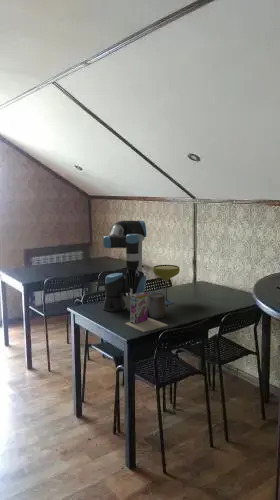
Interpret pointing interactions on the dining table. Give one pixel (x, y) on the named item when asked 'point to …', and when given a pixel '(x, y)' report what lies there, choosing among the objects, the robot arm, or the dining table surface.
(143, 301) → the candy bar box
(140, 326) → the mat
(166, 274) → the cocktail glass
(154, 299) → the pillar candle
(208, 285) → the dining table surface
